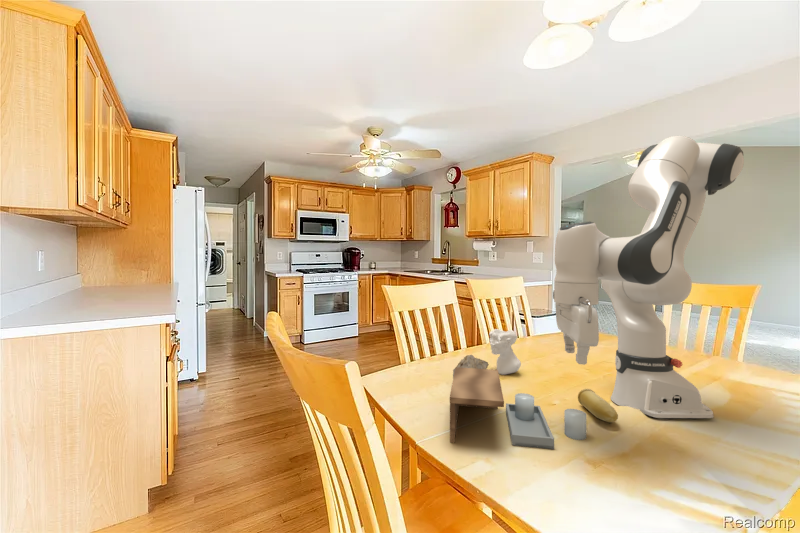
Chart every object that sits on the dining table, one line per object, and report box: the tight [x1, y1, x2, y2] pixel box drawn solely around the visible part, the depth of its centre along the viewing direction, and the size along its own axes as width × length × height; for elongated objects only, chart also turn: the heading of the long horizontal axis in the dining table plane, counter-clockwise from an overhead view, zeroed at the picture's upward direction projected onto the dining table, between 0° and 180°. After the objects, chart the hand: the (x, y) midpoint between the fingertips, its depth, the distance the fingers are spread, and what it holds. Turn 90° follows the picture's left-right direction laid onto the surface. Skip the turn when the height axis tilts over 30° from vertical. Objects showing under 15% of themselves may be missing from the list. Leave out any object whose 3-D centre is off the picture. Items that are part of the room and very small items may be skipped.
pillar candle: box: [563, 408, 588, 441], centre depth 80 cm, size 4×4×5 cm
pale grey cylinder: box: [514, 392, 535, 421], centre depth 88 cm, size 4×4×5 cm
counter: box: [449, 366, 505, 444], centre depth 86 cm, size 11×22×10 cm, turn 168°
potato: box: [577, 388, 619, 423], centre depth 90 cm, size 14×5×5 cm, turn 173°
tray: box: [505, 403, 555, 450], centre depth 83 cm, size 8×17×2 cm, turn 168°
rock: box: [452, 354, 490, 379], centre depth 111 cm, size 12×7×10 cm, turn 115°
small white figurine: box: [489, 328, 522, 376], centre depth 123 cm, size 10×11×15 cm
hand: (575, 357), depth 80 cm, fingers open, 8 cm apart
